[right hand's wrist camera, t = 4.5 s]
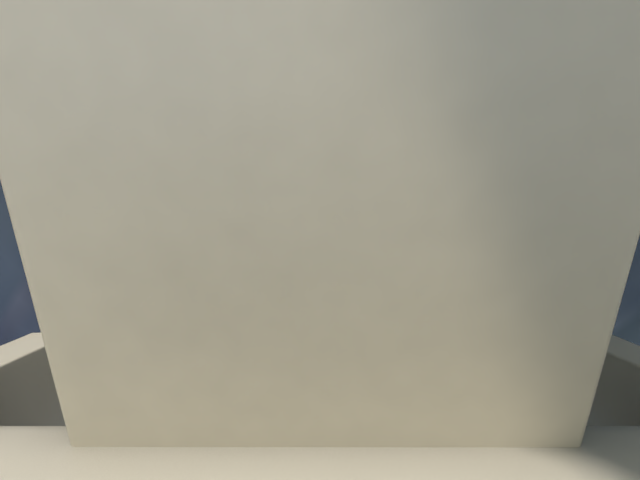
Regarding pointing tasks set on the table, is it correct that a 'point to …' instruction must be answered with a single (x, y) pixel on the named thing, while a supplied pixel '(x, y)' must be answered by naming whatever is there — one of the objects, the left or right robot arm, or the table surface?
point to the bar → (323, 215)
